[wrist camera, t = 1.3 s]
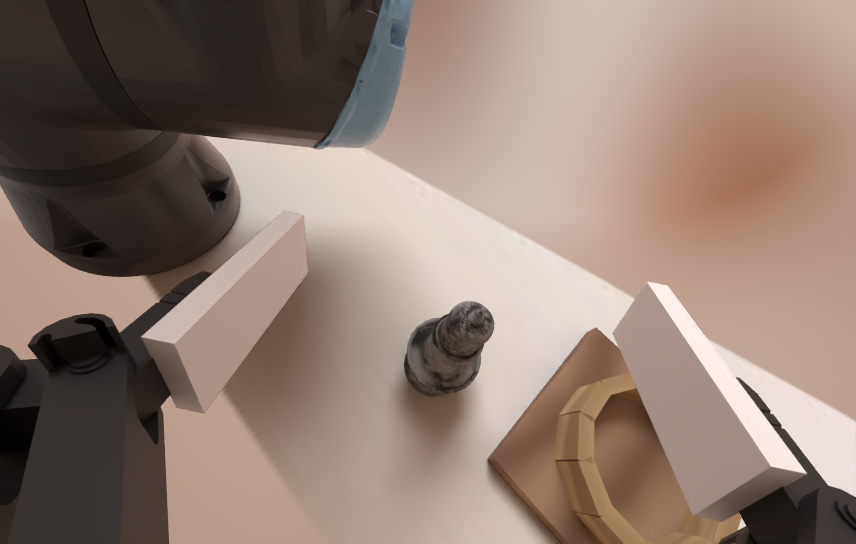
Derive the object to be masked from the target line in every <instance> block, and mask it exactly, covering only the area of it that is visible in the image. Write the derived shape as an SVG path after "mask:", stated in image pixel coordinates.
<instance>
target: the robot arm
mask: <svg viewBox="0 0 856 544" xmlns="http://www.w3.org/2000/svg"><path fill="white" fill-rule="evenodd" d="M413 1H414V0H0V186H1V188H2V189H3V191H4V193H5V195H6V196H7V198H8V200H9V202H10V203H11V205H12V207H13V209H14V211H15V212H16V214H17V216H18V218H19V220H20V221H21V223H22V225H23V227H24V228H25V230H26V231H27V232H28V234H29V235H30V236H31V237H32V238H33V239H34V240H35V241H36V242H37V243H38V244H39V245H40V246H41V247H43V248H44V249H45V250H47V251H48V252H50V253H51V254H53V255H54V256H56V257H57V258H58V259H60V260H61V261H63V262H64V263H66V264H67V265H69V266H71V267H73V268H76V269H78V270H81V271H84V272H88V273H92V274H96V275H103V276H112V277H129V276H141V275H148V274H153V273H158V272H162V271H165V270H169V269H172V268H175V267H177V266H180V265H182V264H185V263H187V262H189V261H191V260H193V259H195V258H197V257H198V256H200V255H202V254H203V253H205V252H206V251H208V250H209V249H210V248H212V247H213V246H214V245H215V244H217V243H218V242H219V241H220V240H221V239H222V238H223V237H224V236H225V234H226V233H227V232H228V231H229V229H230V228H231V226H232V225H233V223H234V221H235V219H236V217H237V214H238V211H239V206H240V192H239V188H238V185H237V182H236V180H235V177H234V175H233V172H232V170H231V168H230V166H229V164H228V162H227V161H226V159H225V158H224V157H223V155H222V154H221V153H220V152H219V151H218V150H217V149H216V148H215V147H214V146H213V145H212V144H211V143H210V142H209V141H208V140H207V138H206V137H205V136H211V137H220V138H230V139H239V140H248V141H257V142H266V143H275V144H284V145H294V146H303V147H311V148H314V149H323V148H326V147H344V148H361V147H365V146H368V145H370V144H371V143H373V142H374V141H375V140H376V139H377V138H378V137H379V136H380V134H381V133H382V132H383V130H384V128H385V126H386V124H387V122H388V119H389V117H390V114H391V111H392V108H393V105H394V102H395V98H396V94H397V91H398V87H399V83H400V79H401V74H402V70H403V65H404V60H405V53H406V47H405V39H406V37H407V34H408V30H409V25H410V21H411V16H412V10H413ZM307 273H308V265H307V252H306V239H305V226H304V215H303V214H298V213H293V212H288V211H283V212H282V213H281V214H280V215H279V216H278V217H276V218H275V219H274V220H273V221H272V222H271V223H270V224H268V225H267V226H266V227H265V228H264V229H263V230H262V231H261V232H259V233H258V234H257V235H256V236H255V237H254V238H253V239H251V240H250V241H249V242H248V243H247V244H246V245H245V246H244V247H242V248H241V249H240V250H239V251H238V252H237V253H236V254H234V255H233V256H232V257H231V258H230V259H229V260H228V261H226V262H225V263H224V264H223V265H222V266H221V267H220V268H219V269H217V270H216V271H215V272H214V273H208V272H200V273H198V274H196V275H194V276H192V277H190V278H187V279H185V280H184V281H183V282H181V283H180V284H179V285H178V286H176V287H175V288H174V289H173V290H172V291H171V293H168V294H167V295H165V296H164V297H163V298H162V299H161V300H160V302H159V303H156V304H155V305H153V306H152V307H151V308H150V309H148V310H147V311H146V312H145V313H143V314H142V315H141V316H140V317H139V318H137V319H136V320H135V321H134V322H133V323H131V324H130V325H129V326H128V327H126V328H125V329H124V330H123V331H122V332H120V333H119V331H118V330H117V328H116V326H115V324H114V322H113V321H112V319H110V318H109V317H107V316H105V315H102V314H93V313H90V314H82V315H75V316H72V317H69V318H65V319H62V320H59V321H57V322H55V323H53V324H51V325H49V326H47V327H45V328H44V329H43V330H41V331H40V332H39V333H37V334H36V335H35V336H34V337H33V338H32V340H31V341H30V343H29V344H28V347H29V348H30V349H31V350H32V352H33V353H34V354H35V355H36V357H37V358H38V359H30V360H20V359H19V358H18V357H17V356H16V354H15V353H14V352H13V351H12V350H11V349H10V348H7V347H5V346H2V345H0V544H169V533H168V511H167V490H166V468H165V467H166V466H165V446H164V445H165V444H164V423H163V412H162V410H161V407H160V406H161V405H162V404H163V403H164V402H165V400H166V399H167V398H168V397H169V396H170V395H171V397H172V399H173V401H174V403H175V405H176V407H177V408H181V409H186V410H191V411H195V412H200V413H205V412H206V410H207V409H208V408H209V406H210V405H211V404H212V402H213V401H214V400H215V398H216V397H217V396H218V394H219V393H220V391H221V390H222V389H223V387H224V386H225V385H226V383H227V382H228V381H229V379H230V378H231V377H232V375H233V374H234V372H235V371H236V370H237V368H238V367H239V366H240V364H241V363H242V362H243V360H244V359H245V358H246V356H247V355H248V353H249V352H250V351H251V349H252V348H253V347H254V345H255V344H256V343H257V341H258V340H259V339H260V337H261V336H262V334H263V333H264V332H265V330H266V329H267V328H268V326H269V325H270V324H271V322H272V321H273V319H274V318H275V317H276V315H277V314H278V313H279V311H280V310H281V309H282V307H283V306H284V305H285V303H286V302H287V300H288V299H289V298H290V296H291V295H292V294H293V292H294V291H295V290H296V288H297V287H298V286H299V284H300V283H301V281H302V280H303V279H304V277H305V276H306V275H307ZM613 335H614V338H615V340H616V342H617V344H618V347H619V349H620V351H621V354H622V356H623V358H624V360H625V363H626V365H627V367H628V369H629V372H630V374H631V376H632V379H633V381H634V383H635V385H636V388H637V390H638V392H639V394H640V397H641V399H642V401H643V404H644V406H645V408H646V410H647V413H648V415H649V417H650V419H651V422H652V424H653V426H654V429H655V431H656V433H657V435H658V438H659V440H660V442H661V444H662V447H663V449H664V451H665V454H666V456H667V458H668V460H669V463H670V465H671V467H672V469H673V472H674V474H675V476H676V479H677V481H678V483H679V485H680V488H681V490H682V492H683V494H684V497H685V499H686V501H687V504H688V506H689V508H690V510H691V513H692V515H693V516H696V517H701V518H706V519H710V520H715V521H720V522H723V521H725V520H727V519H729V518H730V517H732V516H734V515H736V514H737V513H740V515H741V517H742V519H743V520H744V522H745V524H746V526H745V527H744V528H742V529H740V530H738V531H736V532H734V533H732V534H730V535H728V536H726V537H724V538H722V539H721V540H720V542H719V543H718V544H856V497H854V496H852V495H850V494H849V493H847V492H845V491H843V490H841V489H838V488H834V487H831V486H828V485H827V483H826V482H825V481H824V480H823V478H822V477H821V476H820V474H819V473H818V472H817V471H816V469H815V468H814V467H813V465H812V464H811V463H810V461H809V460H808V459H807V458H806V456H805V455H804V454H803V452H802V451H801V450H800V448H799V447H798V446H797V445H796V443H795V442H794V441H793V439H792V438H791V437H790V435H789V434H788V433H787V432H786V430H785V429H782V428H781V426H782V425H781V424H780V423H779V421H778V420H777V419H776V417H775V416H774V415H773V414H770V410H769V408H768V407H767V406H766V404H765V403H764V402H763V400H762V399H761V398H760V397H759V395H758V394H757V393H756V392H755V391H754V390H752V389H751V388H750V387H749V386H748V385H747V384H746V383H745V382H743V381H742V380H741V379H740V378H737V377H735V376H734V375H733V373H732V372H731V371H730V369H729V368H728V367H727V365H726V364H725V362H724V361H723V360H722V358H721V357H720V356H719V354H718V353H717V352H716V350H715V349H714V348H713V346H712V345H711V344H710V342H709V341H708V340H707V338H706V337H705V336H704V334H703V333H702V332H701V330H700V329H699V328H698V326H697V325H696V323H695V322H694V321H693V319H692V318H691V317H690V316H689V314H688V313H687V312H686V310H685V309H684V307H683V306H682V305H681V303H680V302H679V301H678V299H677V298H676V297H675V295H674V294H673V293H672V291H671V290H670V289H669V287H668V286H666V285H661V284H656V283H651V282H646V284H645V285H644V287H643V288H642V290H641V291H640V293H639V294H638V296H637V297H636V299H635V300H634V302H633V303H632V305H631V306H630V308H629V309H628V311H627V312H626V314H625V315H624V317H623V318H622V320H621V321H620V323H619V324H618V326H617V327H616V329H615V330H614V332H613Z"/></svg>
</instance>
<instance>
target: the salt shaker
mask: <svg viewBox="0 0 856 544" xmlns="http://www.w3.org/2000/svg"><path fill="white" fill-rule="evenodd" d="M493 330H494V320H493V317H492V315H491V313H490V312H489V310H488V309H487V308H486V307H484V306H483V305H482V304H479V303H477V302H473V301H465V302H462V303H459V304H458V305H456V306H455V307H454V308H453V309H452V310H451V312H450V313H449V314H447V315H444V316H443V317H441V318H433V319H430V320H427V321H425V322H423V323H422V324H421V325H419V326H418V327H417V328H416V329H415V331H414V332H413V333H412V335H411V337H410V339H409V342H408V347H407V353H406V356H405V362H404V366H405V373H406V375H407V378H408V380H409V382H410V383H411V384H412V386H413V387H414V388H415V389H417V390H418V391H419V392H420V393H423V394H425V395H427V396H433V397H439V396H445V395H447V394H449V393H453V392H457V391H460V390H462V389H464V388H466V387H467V386H468V385H469V384H470V383H471V382H473V380H474V379H475V377H476V375H477V374H478V371H479V368H480V364H481V352H482V350H483V346H484V343H485V342H486V341H488V340H489V338H490V337H491V335H492V333H493Z"/></svg>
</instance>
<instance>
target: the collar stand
mask: <svg viewBox="0 0 856 544" xmlns="http://www.w3.org/2000/svg"><path fill="white" fill-rule="evenodd" d="M487 460H488V461H489V462H490V463H491V464H492V465H493V466H494V468H495V469H496V470H497V471H498V472H499V473H500V474H501V476H502V477H503V478H504V479H505V480H506V481H507V482H508V484H509V485H510V486H511V487H512V488H513V489H514V490H515V492H516V493H517V494H518V495H519V496H520V497H521V498H522V500H523V501H524V502H525V503H526V504H527V505H528V506H529V508H530V509H531V510H532V511H533V512H534V513H535V514H536V515H537V517H538V518H539V519H540V520H541V521H542V522H543V523H544V525H545V526H546V527H547V528H548V529H549V530H550V531H551V533H552V534H553V535H554V536H555V537H556V538H557V539H558V541H559V542H560V543H561V544H718V543H719V542H720V540H721V539H722V538H724V537H726V536H728V535H730V534H732V533H734V532H736V531H737V529H738V526H739V523H740V520H741V516H740V513H737V514H736V515H734V516H732V517H730V518H729V519H727V520H725V521H723V522H720V521H715V520H710V519H706V518H701V517H696V516H693V515H692V513H691V510H690V508H689V506H688V504H687V501H686V499H685V497H684V494H683V492H682V490H681V488H680V485H679V483H678V481H677V479H676V476H675V474H674V472H673V469H672V467H671V465H670V463H669V460H668V458H667V456H666V454H665V451H664V449H663V447H662V444H661V442H660V440H659V438H658V435H657V433H656V431H655V429H654V426H653V424H652V422H651V419H650V417H649V415H648V413H647V410H646V408H645V406H644V404H643V401H642V399H641V397H640V394H639V392H638V390H637V388H636V385H635V383H634V381H633V379H632V376H631V374H630V372H629V369H628V367H627V365H626V363H625V360H624V358H623V356H622V354H621V351H620V349H619V348H618V347H617V346H616V345H615V344H614V343H613V342H611V341H610V340H609V339H608V338H607V337H606V336H605V335H604V334H603V333H602V332H601V331H599V330H598V329H597V328H594V329H592V330H590V331H589V332H587V333H586V334H585V335H584V337H583V338H582V339H581V340H580V342H579V343H578V344H577V346H576V347H575V348H574V349H573V351H572V352H571V353H570V355H569V356H568V357H567V358H566V360H565V361H564V362H563V363H562V365H561V366H560V367H559V369H558V370H557V371H556V372H555V374H554V375H553V376H552V378H551V379H550V380H549V381H548V383H547V384H546V385H545V386H544V388H543V389H542V390H541V392H540V393H539V394H538V395H537V397H536V398H535V399H534V401H533V402H532V403H531V404H530V406H529V407H528V408H527V409H526V411H525V412H524V413H523V415H522V416H521V417H520V418H519V420H518V421H517V422H516V423H515V425H514V426H513V427H512V429H511V430H510V431H509V432H508V434H507V435H506V436H505V438H504V439H503V440H502V441H501V443H500V444H499V445H498V446H497V448H496V449H495V450H494V452H493V453H492V454H491V455H490V457H489V458H488V459H487Z"/></svg>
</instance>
